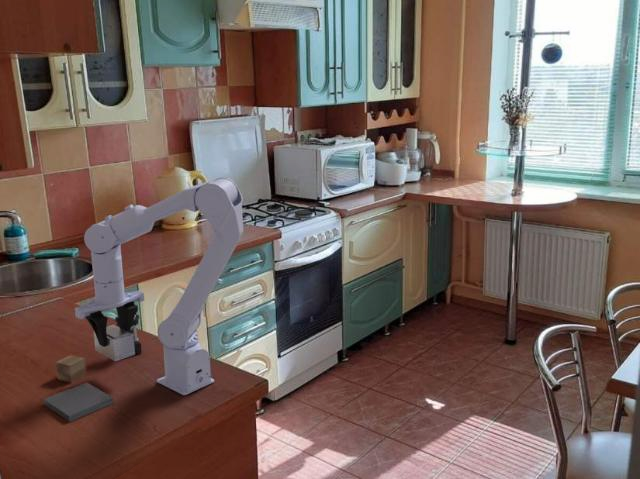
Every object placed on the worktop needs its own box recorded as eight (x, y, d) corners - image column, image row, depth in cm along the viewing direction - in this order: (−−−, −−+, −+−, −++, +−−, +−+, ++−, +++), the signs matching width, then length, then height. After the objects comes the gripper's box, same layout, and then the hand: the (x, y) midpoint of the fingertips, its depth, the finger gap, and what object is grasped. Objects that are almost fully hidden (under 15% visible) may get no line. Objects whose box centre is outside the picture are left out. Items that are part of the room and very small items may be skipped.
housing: (135, 354, 126) (133, 333, 125) (115, 361, 123) (113, 339, 122) (114, 344, 132) (112, 323, 130) (95, 350, 128) (93, 329, 127)
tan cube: (86, 375, 130) (84, 358, 129) (71, 383, 127) (69, 365, 126) (72, 371, 132) (70, 354, 131) (58, 379, 128) (55, 362, 128)
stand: (113, 403, 118) (113, 397, 118) (69, 421, 112) (69, 416, 111) (87, 387, 125) (86, 382, 124) (44, 404, 118) (43, 398, 118)
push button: (115, 362, 136) (111, 320, 134) (109, 353, 141) (106, 313, 138) (145, 355, 140) (141, 314, 138) (138, 347, 144) (135, 307, 142)
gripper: (129, 268, 131) (134, 326, 135) (64, 283, 121) (71, 347, 124) (147, 274, 127) (152, 334, 130) (82, 291, 116) (89, 356, 119)
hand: (114, 341), depth 127 cm, fingers closed on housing, 4 cm apart
